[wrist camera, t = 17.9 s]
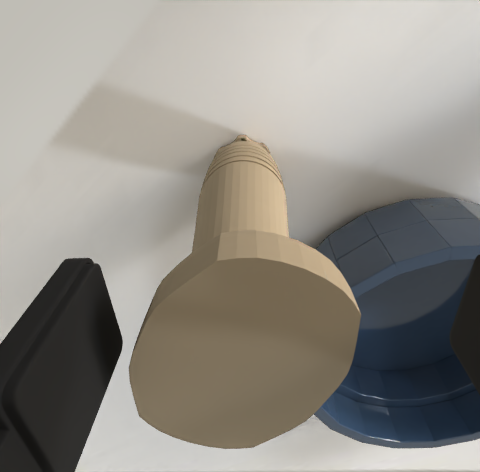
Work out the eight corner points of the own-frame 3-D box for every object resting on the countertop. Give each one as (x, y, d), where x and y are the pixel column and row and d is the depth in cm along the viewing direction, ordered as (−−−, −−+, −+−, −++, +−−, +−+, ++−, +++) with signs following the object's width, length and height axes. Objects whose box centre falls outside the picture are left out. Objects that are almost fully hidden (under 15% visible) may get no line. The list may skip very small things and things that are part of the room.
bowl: (289, 199, 23) (301, 252, 18) (566, 187, 22) (664, 238, 17) (286, 379, 31) (294, 450, 26) (488, 374, 30) (537, 446, 25)
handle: (306, 127, 21) (408, 309, 8) (257, 220, 24) (269, 463, 11) (227, 89, 20) (188, 223, 7) (186, 191, 23) (104, 419, 10)
